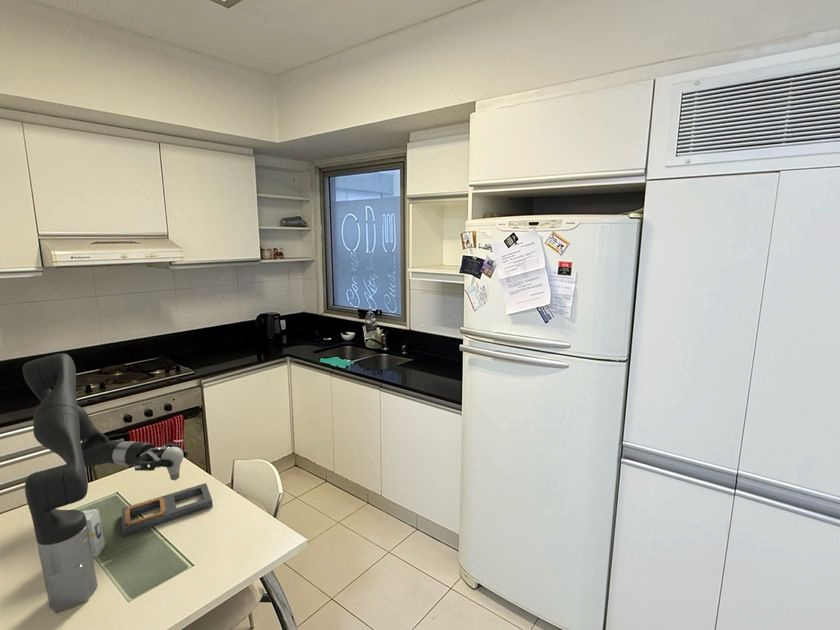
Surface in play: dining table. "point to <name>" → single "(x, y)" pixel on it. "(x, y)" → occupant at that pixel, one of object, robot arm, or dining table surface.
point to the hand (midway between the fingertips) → (179, 458)
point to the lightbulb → (176, 457)
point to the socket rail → (165, 509)
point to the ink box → (94, 531)
